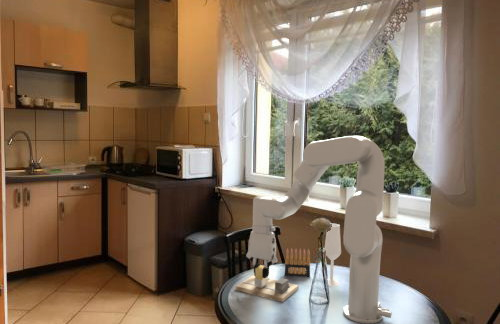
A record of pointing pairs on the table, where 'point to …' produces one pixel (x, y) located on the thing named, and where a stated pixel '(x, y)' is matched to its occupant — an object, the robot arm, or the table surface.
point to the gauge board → (269, 288)
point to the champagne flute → (333, 249)
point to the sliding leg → (260, 277)
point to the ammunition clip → (297, 264)
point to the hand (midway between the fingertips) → (261, 275)
